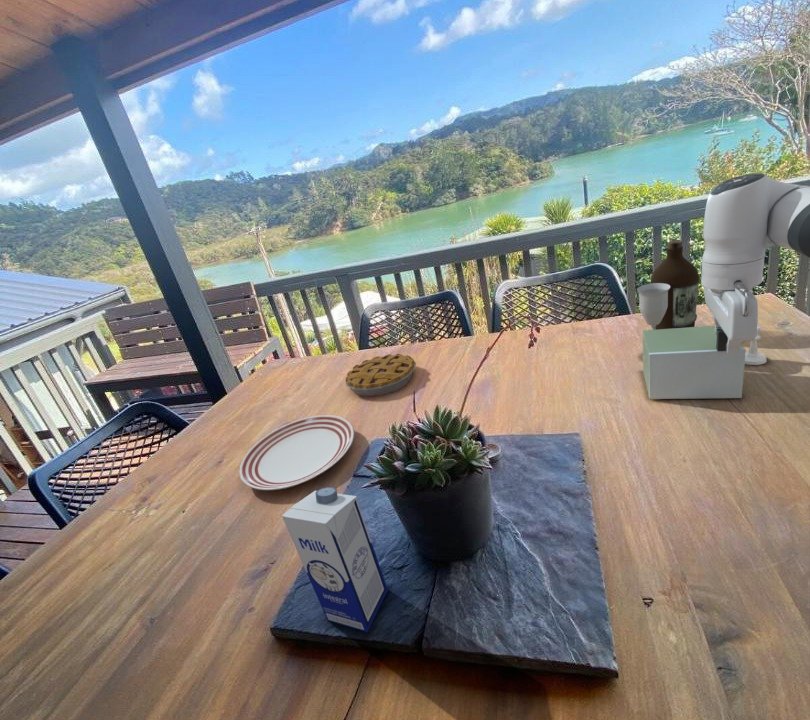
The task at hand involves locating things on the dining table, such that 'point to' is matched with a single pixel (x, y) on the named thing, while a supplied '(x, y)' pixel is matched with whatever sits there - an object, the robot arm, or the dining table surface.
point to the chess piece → (754, 352)
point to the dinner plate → (296, 452)
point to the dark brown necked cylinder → (678, 288)
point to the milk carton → (338, 556)
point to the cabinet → (676, 342)
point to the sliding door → (697, 373)
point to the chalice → (653, 302)
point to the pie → (381, 375)
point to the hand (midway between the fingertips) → (726, 344)
